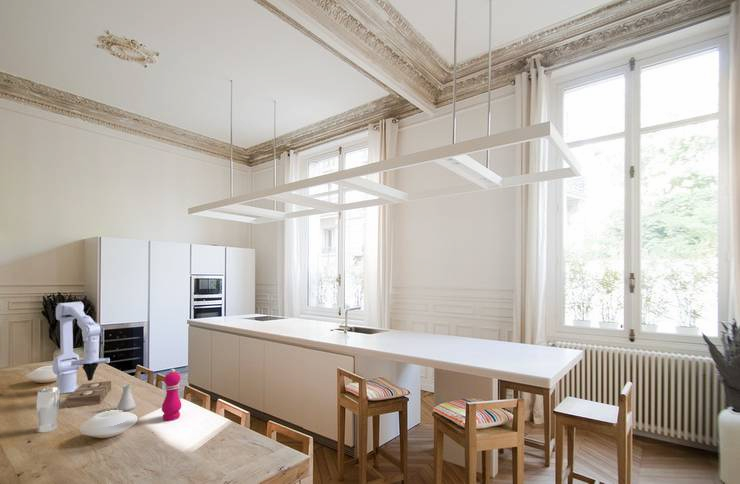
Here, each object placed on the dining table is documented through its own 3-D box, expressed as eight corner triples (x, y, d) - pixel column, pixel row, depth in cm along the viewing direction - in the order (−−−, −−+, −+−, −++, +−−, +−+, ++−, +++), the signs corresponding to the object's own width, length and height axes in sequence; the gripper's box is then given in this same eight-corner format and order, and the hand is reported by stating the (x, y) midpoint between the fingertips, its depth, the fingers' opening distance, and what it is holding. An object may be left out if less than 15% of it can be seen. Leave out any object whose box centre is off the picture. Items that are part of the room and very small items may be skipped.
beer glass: (37, 435, 141) (39, 394, 142) (32, 430, 145) (34, 390, 146) (61, 428, 146) (62, 389, 147) (55, 423, 151) (57, 385, 151)
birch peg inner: (89, 392, 186) (90, 384, 186) (100, 390, 188) (100, 382, 188) (87, 394, 182) (87, 386, 182) (98, 393, 184) (98, 385, 184)
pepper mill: (172, 422, 152) (174, 371, 153) (157, 420, 154) (158, 370, 155) (185, 415, 159) (186, 366, 160) (170, 413, 161) (171, 365, 162)
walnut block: (82, 392, 187) (82, 384, 187) (111, 389, 192) (111, 381, 192) (67, 408, 167) (67, 398, 167) (99, 404, 172) (100, 395, 172)
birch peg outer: (82, 400, 175) (82, 391, 175) (94, 398, 177) (94, 390, 177) (79, 403, 171) (80, 394, 171) (91, 402, 173) (91, 393, 173)
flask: (139, 405, 170) (140, 383, 170) (127, 412, 162) (128, 388, 163) (124, 405, 170) (125, 382, 171) (112, 411, 163) (113, 388, 164)
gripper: (69, 353, 170) (68, 384, 170) (107, 350, 176) (106, 380, 175) (74, 350, 177) (73, 379, 176) (111, 347, 183) (110, 376, 182)
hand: (90, 379), depth 176 cm, fingers closed
